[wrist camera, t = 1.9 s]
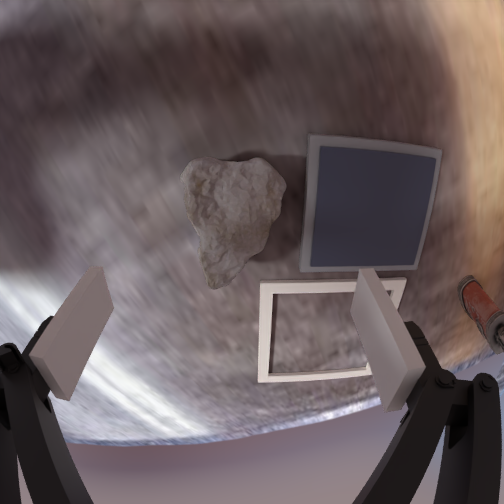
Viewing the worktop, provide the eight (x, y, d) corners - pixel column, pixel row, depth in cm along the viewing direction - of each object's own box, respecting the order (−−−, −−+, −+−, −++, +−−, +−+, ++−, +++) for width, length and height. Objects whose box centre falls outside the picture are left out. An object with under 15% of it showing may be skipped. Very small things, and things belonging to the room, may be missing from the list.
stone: (272, 261, 29) (276, 301, 23) (183, 254, 28) (170, 293, 23) (286, 154, 24) (297, 173, 19) (184, 146, 23) (166, 163, 18)
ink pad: (298, 266, 29) (300, 274, 27) (307, 133, 23) (311, 135, 22) (412, 264, 29) (418, 272, 28) (436, 147, 23) (444, 151, 22)
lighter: (453, 287, 30) (496, 346, 22) (473, 269, 29) (520, 324, 21) (468, 320, 33) (503, 373, 25) (486, 305, 32) (524, 355, 24)
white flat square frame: (257, 379, 37) (257, 382, 36) (260, 280, 29) (260, 283, 29) (371, 371, 37) (372, 374, 36) (405, 277, 29) (406, 279, 29)
